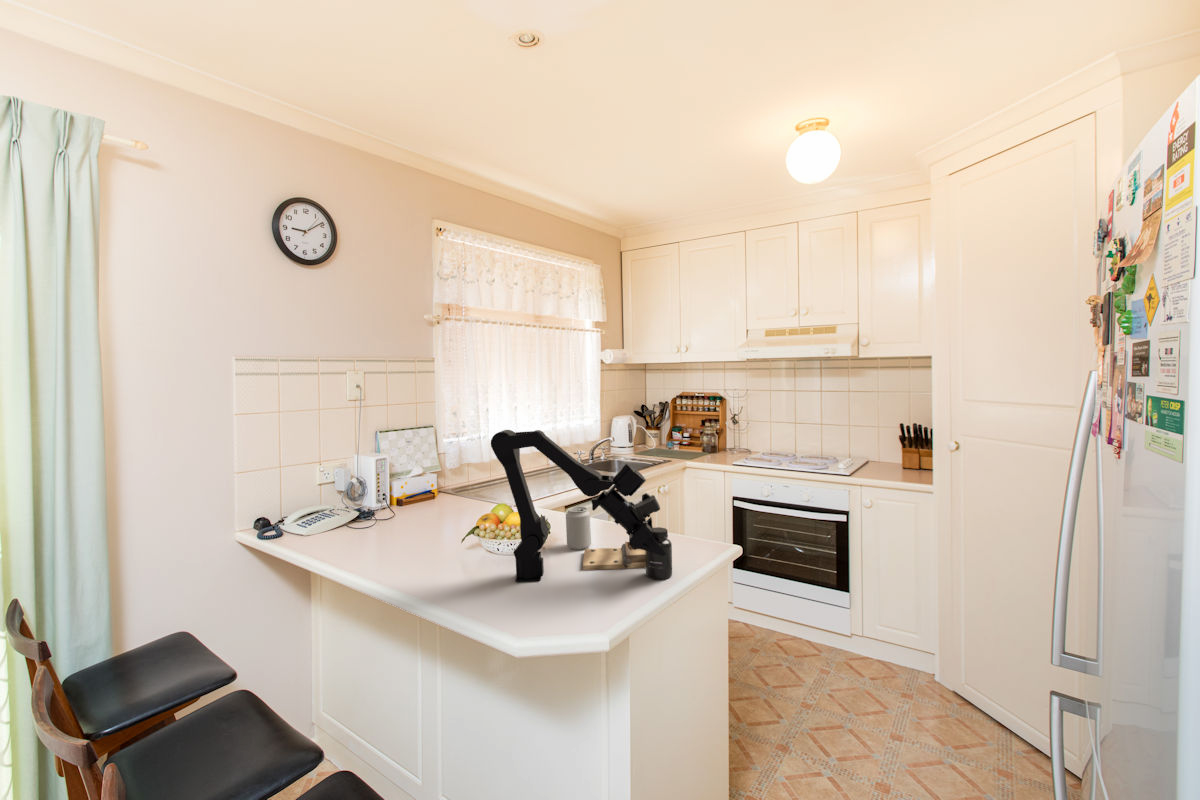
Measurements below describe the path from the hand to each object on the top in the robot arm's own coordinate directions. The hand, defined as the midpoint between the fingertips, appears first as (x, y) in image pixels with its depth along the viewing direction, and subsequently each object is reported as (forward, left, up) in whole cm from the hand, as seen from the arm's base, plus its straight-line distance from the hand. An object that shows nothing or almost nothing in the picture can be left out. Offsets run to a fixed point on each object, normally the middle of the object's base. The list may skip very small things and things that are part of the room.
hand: (663, 550), depth 137 cm
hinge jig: (-9, +13, -7) cm, 17 cm away
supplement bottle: (-1, 0, -7) cm, 7 cm away
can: (-23, +26, -7) cm, 36 cm away
